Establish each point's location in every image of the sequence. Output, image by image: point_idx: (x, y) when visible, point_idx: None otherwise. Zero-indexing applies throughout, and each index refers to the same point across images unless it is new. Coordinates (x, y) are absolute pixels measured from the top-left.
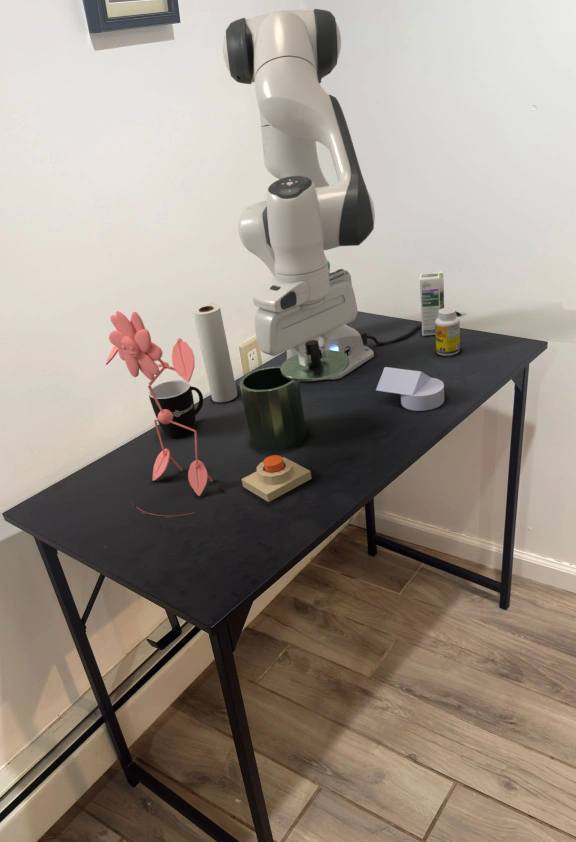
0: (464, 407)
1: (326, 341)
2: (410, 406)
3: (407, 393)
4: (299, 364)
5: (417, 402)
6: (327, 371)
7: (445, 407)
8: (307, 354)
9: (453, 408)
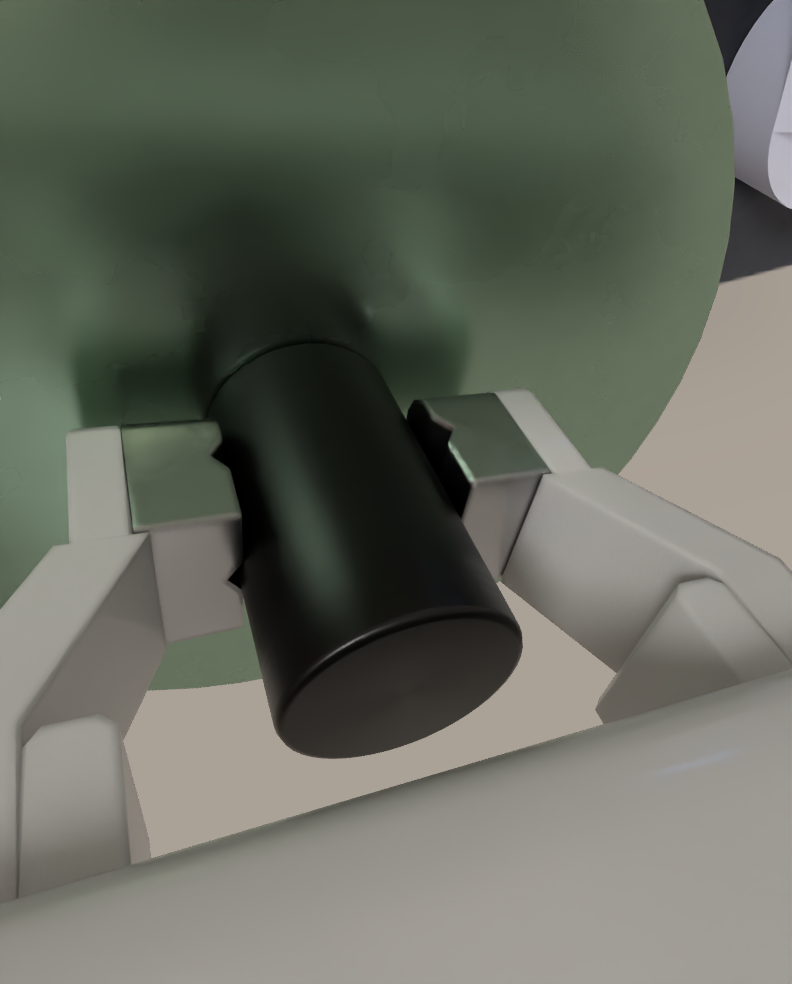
0: (752, 267)
1: (583, 643)
2: (734, 96)
3: (790, 100)
4: (133, 273)
5: (743, 146)
6: (237, 636)
7: (750, 209)
8: (211, 607)
9: (743, 240)
